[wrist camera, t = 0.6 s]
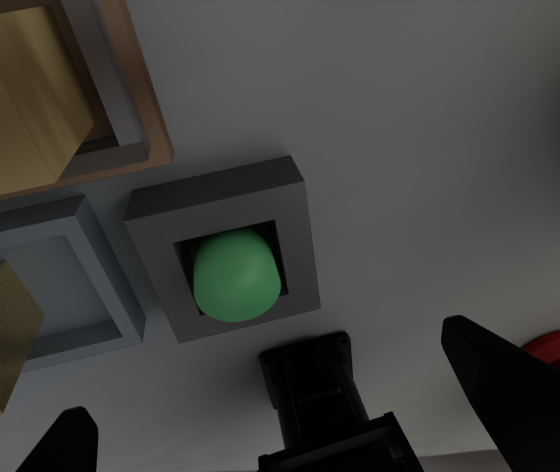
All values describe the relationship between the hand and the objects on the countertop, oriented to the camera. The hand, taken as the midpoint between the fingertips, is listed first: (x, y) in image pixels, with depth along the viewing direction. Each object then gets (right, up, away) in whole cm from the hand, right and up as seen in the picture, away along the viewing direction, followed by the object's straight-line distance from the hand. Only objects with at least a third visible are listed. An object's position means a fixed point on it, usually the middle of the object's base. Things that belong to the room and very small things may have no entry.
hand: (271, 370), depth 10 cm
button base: (-3, +3, +12) cm, 13 cm away
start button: (-2, +2, +11) cm, 11 cm away
